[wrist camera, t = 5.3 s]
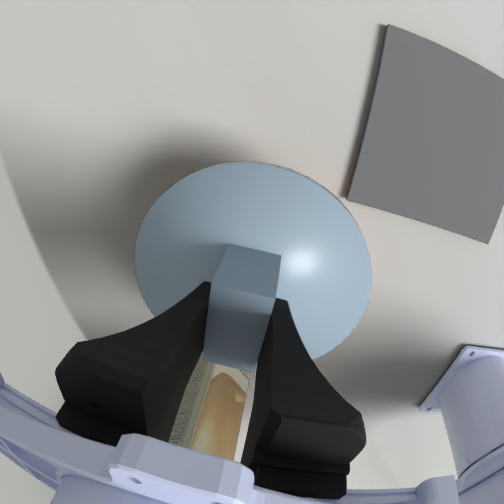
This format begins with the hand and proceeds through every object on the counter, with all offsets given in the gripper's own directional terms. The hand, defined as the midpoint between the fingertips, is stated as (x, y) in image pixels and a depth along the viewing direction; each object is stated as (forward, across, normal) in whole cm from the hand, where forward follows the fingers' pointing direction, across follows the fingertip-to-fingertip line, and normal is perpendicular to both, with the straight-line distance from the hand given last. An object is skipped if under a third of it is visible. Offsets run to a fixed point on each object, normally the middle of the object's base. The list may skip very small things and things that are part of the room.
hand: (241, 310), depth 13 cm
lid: (+2, 0, 0) cm, 2 cm away
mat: (+6, -9, -9) cm, 14 cm away
